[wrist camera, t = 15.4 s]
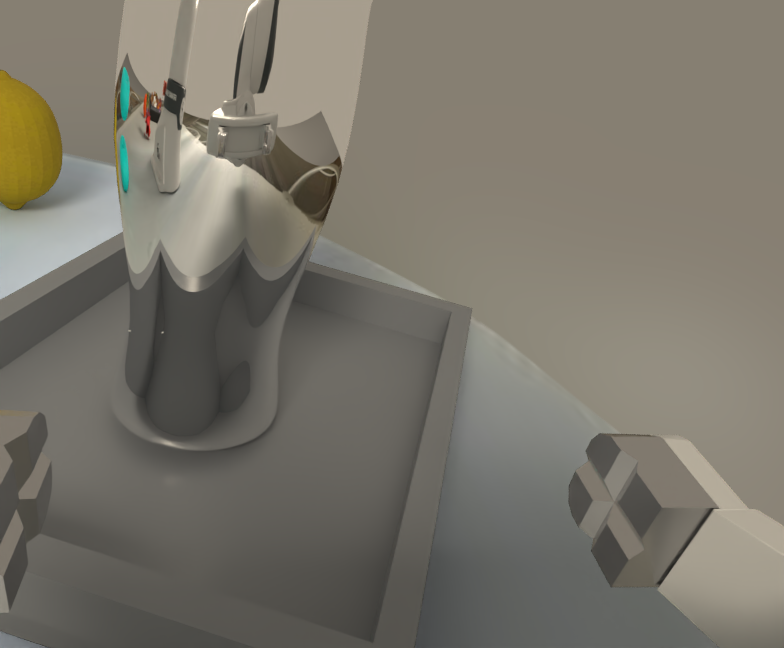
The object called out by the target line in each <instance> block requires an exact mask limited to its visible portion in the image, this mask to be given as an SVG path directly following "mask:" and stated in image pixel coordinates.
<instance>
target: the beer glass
mask: <svg viewBox="0 0 784 648" xmlns="http://www.w3.org/2000/svg"><path fill="white" fill-rule="evenodd" d="M372 1H373V0H125V2H124V9H123V17H122V24H121V31H120V39H119V49H118V60H117V70H116V81H115V107H114V144H115V159H116V175H117V186H118V195H119V203H120V212H121V220H122V228H123V236H124V244H125V251H126V259H127V269H128V279H129V289H130V303H129V321H128V328H127V334H126V339H125V343H124V347H123V350H122V353H121V357H120V360H119V363H118V366H117V369H116V372H115V376H114V379H113V383H112V387H111V393H110V402H111V407H112V410H113V413H114V415H115V416H116V418H117V419H118V421H119V422H120V423H121V424H122V425H123V426H124V427H125V428H127V429H128V430H129V431H130V432H132V433H133V434H135V435H137V436H138V437H140V438H142V439H144V440H146V441H149V442H151V443H154V444H157V445H160V446H164V447H168V448H172V449H178V450H186V451H215V450H222V449H227V448H232V447H236V446H239V445H242V444H244V443H247V442H249V441H251V440H253V439H255V438H257V437H258V436H260V435H261V434H262V433H264V432H265V431H266V430H267V429H268V428H269V427H270V425H271V424H272V422H273V420H274V418H275V416H276V413H277V408H278V396H279V382H278V362H279V349H280V343H281V337H282V332H283V328H284V325H285V321H286V317H287V314H288V311H289V308H290V306H291V303H292V301H293V298H294V295H295V293H296V290H297V287H298V285H299V283H300V280H301V278H302V276H303V273H304V271H305V269H306V266H307V264H308V261H309V259H310V257H311V254H312V252H313V249H314V247H315V244H316V242H317V239H318V237H319V234H320V232H321V229H322V227H323V225H324V222H325V219H326V216H327V214H328V211H329V208H330V205H331V202H332V199H333V196H334V194H335V191H336V188H337V185H338V182H339V178H340V175H341V171H342V167H343V163H344V159H345V155H346V151H347V147H348V143H349V139H350V133H351V128H352V123H353V118H354V113H355V108H356V102H357V97H358V89H359V83H360V77H361V70H362V63H363V56H364V48H365V40H366V33H367V27H368V20H369V14H370V8H371V4H372Z"/></svg>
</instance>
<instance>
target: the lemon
mask: <svg viewBox="0 0 784 648" xmlns="http://www.w3.org/2000/svg"><path fill="white" fill-rule="evenodd" d="M61 165H62V143H61V137H60V132H59V129H58V125H57V122H56V119H55V117H54V114H53V112H52V111H51V109H50V107H49V105H48V104H47V103H46V101H45V100H44V99H43V98H42V97H41V96H40V95H39V94H38V93H37V92H36V91H35V90H33V89H32V88H31V87H29V86H28V85H26V84H24V83H22V82H20V81H18V80H16V79H13V78H11V77H10V76H9V74H8V73H7V72H6V71H4V70H0V202H1V203H3V204H4V205H5V206H6V207H8V208H9V209H20V208H21V207H22V206H23V205H24V204H25V203H26V202H27V201H30V200H34V199H36V198H38V197H40V196H42V195H44V194H45V193H46V192H47V191H49V189H50V188H51V187H52V186H53V185H54V183H55V182H56V180H57V178H58V176H59V174H60V170H61Z"/></svg>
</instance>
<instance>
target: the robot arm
mask: <svg viewBox="0 0 784 648" xmlns="http://www.w3.org/2000/svg"><path fill="white" fill-rule="evenodd" d="M47 437H48V431H47V424H46V418H45V415H43V414H42V413H41V412H33V411H16V410H0V613H7V612H10V610H11V607H12V605H13V602H14V600H15V597H16V594H17V592H18V589H19V587H20V584H21V582H22V579H23V576H24V574H25V571H26V569H27V566H28V564H29V563H28V556H27V548H26V544H27V543H28V542H29V541H30V540H32V539H33V538H34V537H36V536H37V535H38V534H39V533H40V532H41V529H42V526H43V524H44V521H45V518H46V515H47V511H48V507H49V502H50V497H51V492H52V465H51V460H50V459H49V458H47V457H46V456H45V455H44V454H43V453H42V452H41V451H42V449H43V447H44V444H45V442H46V440H47ZM586 454H587V457H588V460H589V461H588V462H587V463H585V464H584V465H583V466H581V467H580V468H579V469H577V470H576V471H575V473H574V475H573V478H572V480H571V482H570V484H569V506H570V509H571V513H572V516H573V518H574V520H575V522H576V524H577V526H578V527H579V528H580V529H581V530H582V531H584V532H585V533H586V534H587V535H589V536H590V537H591V538H592V539H593V543H592V549H591V552H592V553H593V555H594V557H595V559H596V561H597V562H598V564H599V566H600V568H601V570H602V572H603V573H604V575H605V577H606V579H607V581H608V583H609V584H610V586H611V587H659V588H658V589H657V590H658V591H659V592H660V593H661V594H662V595H663V596H665V597H666V598H667V599H668V600H669V601H670V602H671V603H672V604H673V605H674V606H675V607H676V608H677V609H678V610H680V611H681V612H682V613H683V614H684V615H685V616H686V617H687V618H688V619H689V620H690V621H691V622H692V623H694V624H695V625H696V626H697V627H698V628H699V629H700V630H701V631H702V632H703V633H704V634H705V635H706V636H707V637H709V638H710V639H711V640H712V641H713V642H714V643H715V644H716V645H717V646H718V647H719V648H784V526H783V525H781V524H780V523H778V522H777V521H775V520H773V519H772V518H770V517H768V516H767V515H765V514H763V513H762V512H760V511H759V510H757V509H748V508H747V506H746V505H745V504H744V503H743V502H742V501H741V499H740V498H739V497H738V496H737V495H736V494H735V493H734V491H733V490H732V489H731V488H730V487H729V486H728V485H727V483H726V482H725V481H724V480H723V479H722V478H721V476H719V474H718V473H717V472H716V471H715V470H714V468H713V467H712V466H711V465H710V464H709V463H708V461H707V460H706V459H705V458H704V457H703V456H702V455H701V454H700V452H699V451H698V450H697V449H696V448H695V446H693V444H692V443H691V442H690V441H689V440H687V439H686V438H684V437H682V436H680V435H635V434H602V433H600V434H598V435H597V436H596V437H594V438H593V439H592V440H591V442H590V444H589V446H588V447H587V449H586Z"/></svg>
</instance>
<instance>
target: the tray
mask: <svg viewBox="0 0 784 648" xmlns="http://www.w3.org/2000/svg"><path fill="white" fill-rule="evenodd" d="M129 303H130V289H129V279H128V269H127V259H126V251H125V244H124V236H123V232H122V233H120V234H118V235H116V236H114V237H113V238H111V239H109V240H107V241H105V242H104V243H102V244H100V245H98V246H96V247H95V248H93V249H91V250H89V251H87V252H86V253H84V254H82V255H80V256H78V257H77V258H75V259H73V260H71V261H69V262H68V263H66V264H64V265H62V266H60V267H59V268H57V269H55V270H53V271H51V272H50V273H48V274H46V275H44V276H42V277H41V278H39V279H37V280H35V281H33V282H32V283H30V284H28V285H26V286H24V287H23V288H21V289H19V290H17V291H15V292H14V293H12V294H10V295H8V296H7V297H5V298H3V299H1V300H0V410H16V411H33V412H41V413H42V414H43V415H45V418H46V424H47V431H48V437H47V440H46V442H45V444H44V447H43V449H42V451H41V452H42V453H43V454H44V455H45V456H46V457H47V458H49V459H50V460H51V465H52V492H51V497H50V502H49V507H48V511H47V515H46V518H45V521H44V524H43V526H42V529H41V532H40V533H39V534H38V535H37V536H36V537H34V538H33V539H32V540H30V541H29V542H28V543H27V544H26V548H27V556H28V563H29V564H28V566H27V569H26V571H25V574H24V576H23V579H22V582H21V584H20V587H19V589H18V592H17V594H16V597H15V600H14V602H13V605H12V607H11V610H10V612H7V613H0V631H2V632H5V633H8V634H11V635H14V636H17V637H20V638H23V639H25V640H28V641H31V642H34V643H37V644H40V645H43V646H46V647H49V648H415V642H416V636H417V630H418V624H419V619H420V613H421V607H422V601H423V595H424V589H425V583H426V577H427V572H428V566H429V560H430V554H431V548H432V542H433V536H434V530H435V525H436V519H437V513H438V507H439V501H440V495H441V489H442V483H443V478H444V472H445V466H446V460H447V454H448V448H449V442H450V436H451V431H452V425H453V419H454V413H455V407H456V401H457V395H458V389H459V384H460V378H461V372H462V366H463V360H464V354H465V348H466V343H467V337H468V331H469V325H470V319H471V313H472V308H469V307H465V306H462V305H458V304H455V303H451V302H448V301H444V300H441V299H437V298H434V297H430V296H427V295H423V294H420V293H416V292H413V291H409V290H406V289H402V288H399V287H395V286H392V285H388V284H385V283H381V282H378V281H374V280H371V279H367V278H364V277H360V276H357V275H353V274H350V273H346V272H343V271H340V270H336V269H333V268H329V267H326V266H322V265H319V264H315V263H312V262H308V264H307V266H306V269H305V271H304V273H303V276H302V278H301V280H300V283H299V285H298V287H297V290H296V293H295V295H294V298H293V301H292V303H291V306H290V308H289V311H288V314H287V317H286V321H285V325H284V328H283V332H282V337H281V343H280V349H279V362H278V382H279V396H278V408H277V413H276V416H275V418H274V420H273V422H272V424H271V425H270V427H269V428H268V429H267V430H266V431H265V432H264V433H262V434H261V435H260V436H258V437H257V438H255V439H253V440H251V441H249V442H247V443H244V444H242V445H239V446H236V447H232V448H227V449H222V450H215V451H186V450H178V449H172V448H168V447H164V446H160V445H157V444H154V443H151V442H149V441H146V440H144V439H142V438H140V437H138V436H137V435H135V434H133V433H132V432H130V431H129V430H128V429H127V428H125V427H124V426H123V425H122V424H121V423H120V422H119V421H118V419H117V418H116V416H115V415H114V413H113V410H112V407H111V402H110V393H111V387H112V383H113V379H114V376H115V372H116V369H117V366H118V363H119V360H120V357H121V353H122V350H123V347H124V343H125V339H126V334H127V328H128V321H129Z"/></svg>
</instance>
